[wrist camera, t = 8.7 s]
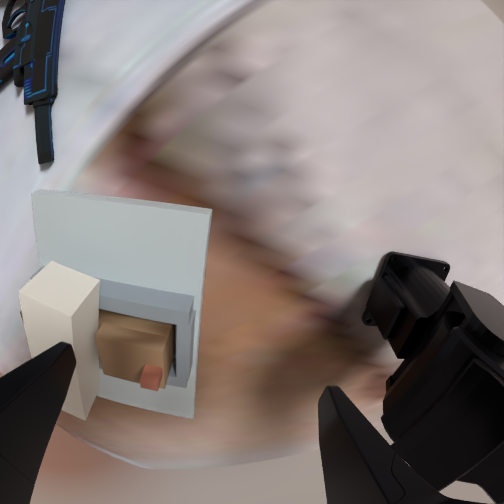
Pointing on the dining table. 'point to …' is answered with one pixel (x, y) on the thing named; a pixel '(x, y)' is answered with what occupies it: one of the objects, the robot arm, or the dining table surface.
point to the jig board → (135, 275)
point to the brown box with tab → (135, 348)
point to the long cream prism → (65, 326)
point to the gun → (34, 62)
